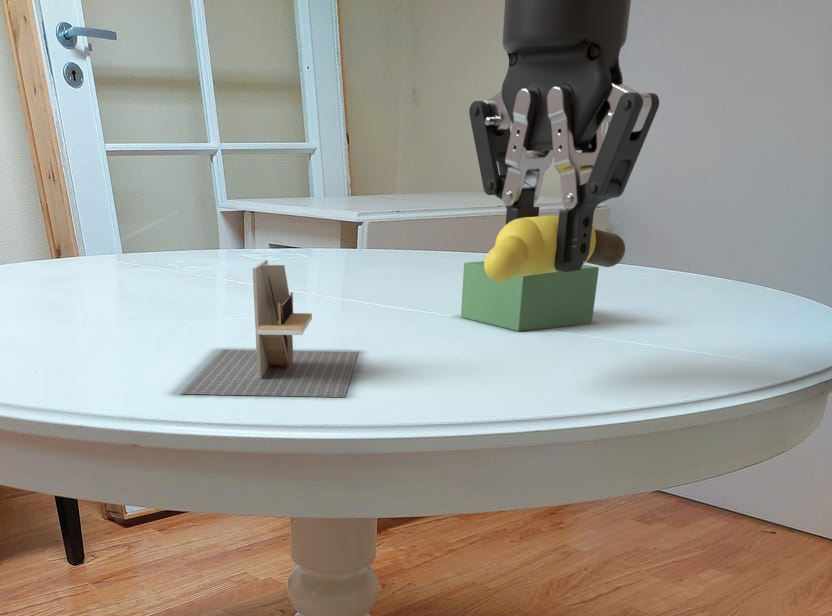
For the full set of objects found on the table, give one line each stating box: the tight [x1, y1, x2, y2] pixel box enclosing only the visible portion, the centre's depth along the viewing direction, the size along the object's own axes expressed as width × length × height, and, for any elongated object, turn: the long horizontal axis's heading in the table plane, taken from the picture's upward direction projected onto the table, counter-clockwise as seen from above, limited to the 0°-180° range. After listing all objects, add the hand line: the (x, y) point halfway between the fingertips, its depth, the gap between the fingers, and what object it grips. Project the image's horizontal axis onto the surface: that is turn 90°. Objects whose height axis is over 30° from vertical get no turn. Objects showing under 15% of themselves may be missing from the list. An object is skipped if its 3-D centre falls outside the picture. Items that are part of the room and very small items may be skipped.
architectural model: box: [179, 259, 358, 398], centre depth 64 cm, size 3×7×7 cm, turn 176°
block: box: [460, 260, 600, 332], centre depth 85 cm, size 9×9×5 cm
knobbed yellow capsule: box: [484, 214, 626, 282], centre depth 60 cm, size 14×4×4 cm, turn 130°
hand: (543, 266), depth 61 cm, fingers closed on knobbed yellow capsule, 3 cm apart
